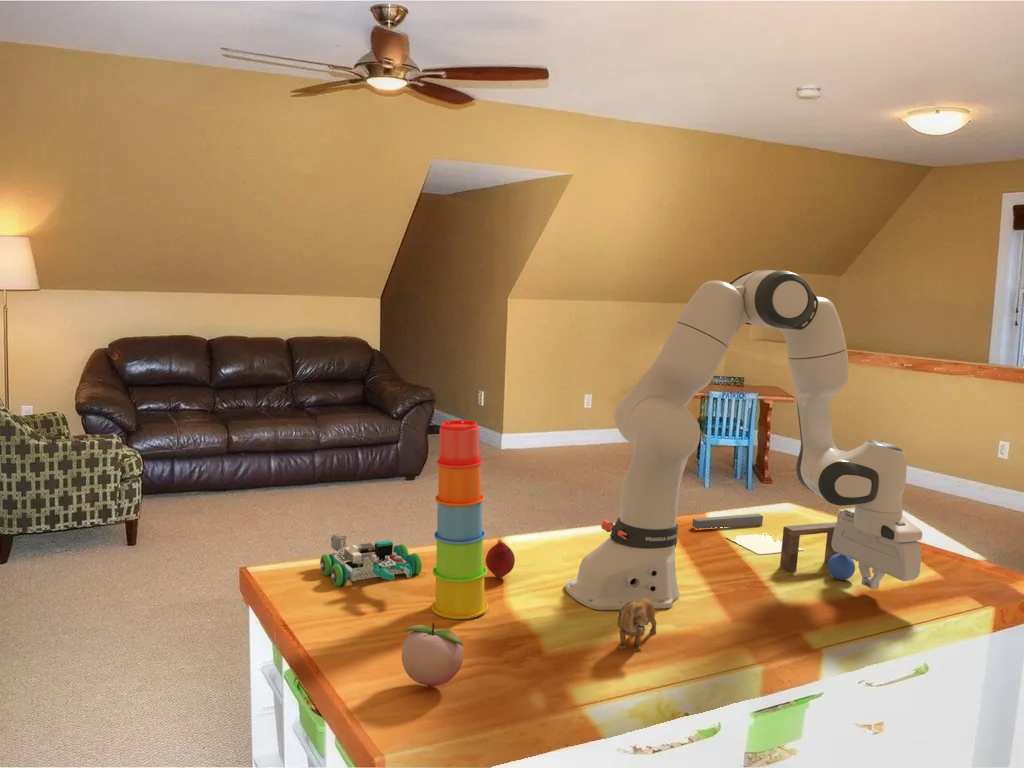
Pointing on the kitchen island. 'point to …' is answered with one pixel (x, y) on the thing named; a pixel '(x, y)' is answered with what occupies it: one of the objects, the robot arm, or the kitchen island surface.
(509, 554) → the onion
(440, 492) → the stacking cups
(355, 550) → the robot kit
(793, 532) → the bridge
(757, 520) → the wall
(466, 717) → the kitchen island surface
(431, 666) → the decorative fruit
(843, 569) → the ball
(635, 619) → the lion figurine
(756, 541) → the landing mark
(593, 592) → the robot arm
